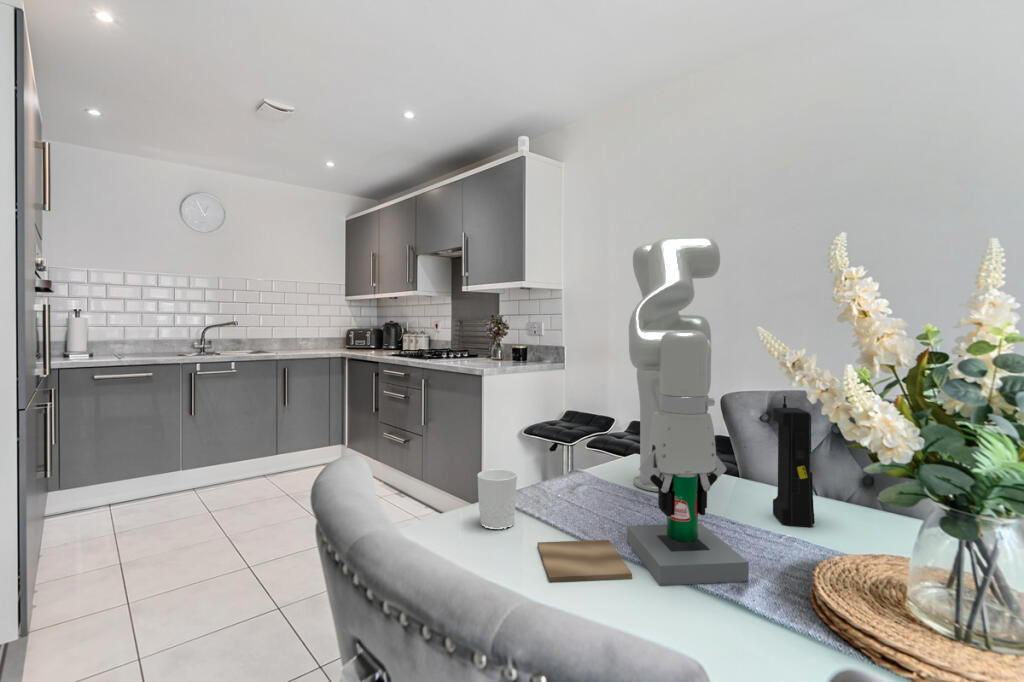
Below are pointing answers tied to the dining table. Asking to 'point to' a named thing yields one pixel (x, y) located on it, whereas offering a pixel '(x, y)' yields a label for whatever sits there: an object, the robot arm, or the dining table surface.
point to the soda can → (684, 508)
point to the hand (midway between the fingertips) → (682, 511)
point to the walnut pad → (582, 561)
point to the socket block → (686, 557)
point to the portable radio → (794, 468)
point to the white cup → (497, 497)
